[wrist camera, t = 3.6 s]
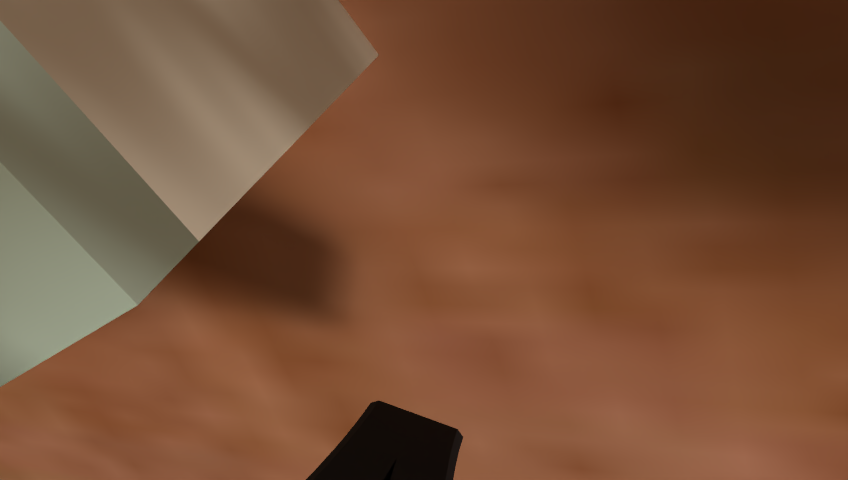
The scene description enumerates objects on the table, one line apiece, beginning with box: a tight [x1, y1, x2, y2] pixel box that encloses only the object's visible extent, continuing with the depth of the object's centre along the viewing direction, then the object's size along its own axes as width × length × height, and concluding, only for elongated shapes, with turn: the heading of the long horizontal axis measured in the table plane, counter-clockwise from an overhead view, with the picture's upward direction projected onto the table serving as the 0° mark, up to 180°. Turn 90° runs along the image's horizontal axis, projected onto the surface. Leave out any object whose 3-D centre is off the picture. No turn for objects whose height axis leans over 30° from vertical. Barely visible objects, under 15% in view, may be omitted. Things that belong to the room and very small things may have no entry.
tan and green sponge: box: [0, 0, 379, 387], centre depth 10 cm, size 4×4×6 cm
